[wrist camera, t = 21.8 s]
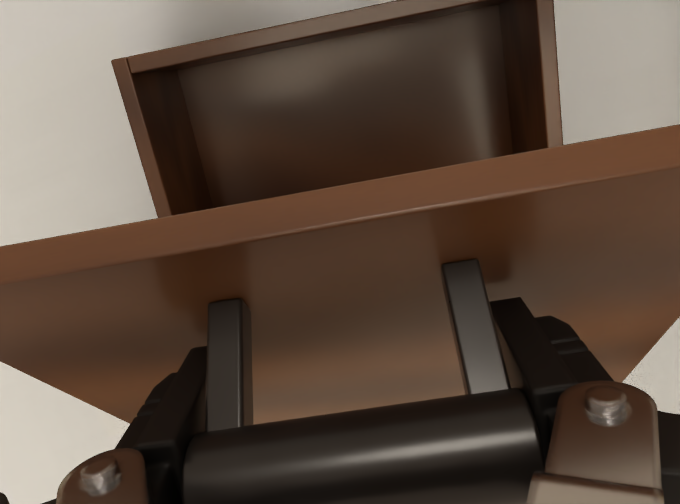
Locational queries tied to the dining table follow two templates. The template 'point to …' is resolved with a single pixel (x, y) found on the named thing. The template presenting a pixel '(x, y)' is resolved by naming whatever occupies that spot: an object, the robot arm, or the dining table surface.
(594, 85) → the dining table surface
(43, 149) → the dining table surface
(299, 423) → the lid
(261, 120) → the chest
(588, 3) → the dining table surface
